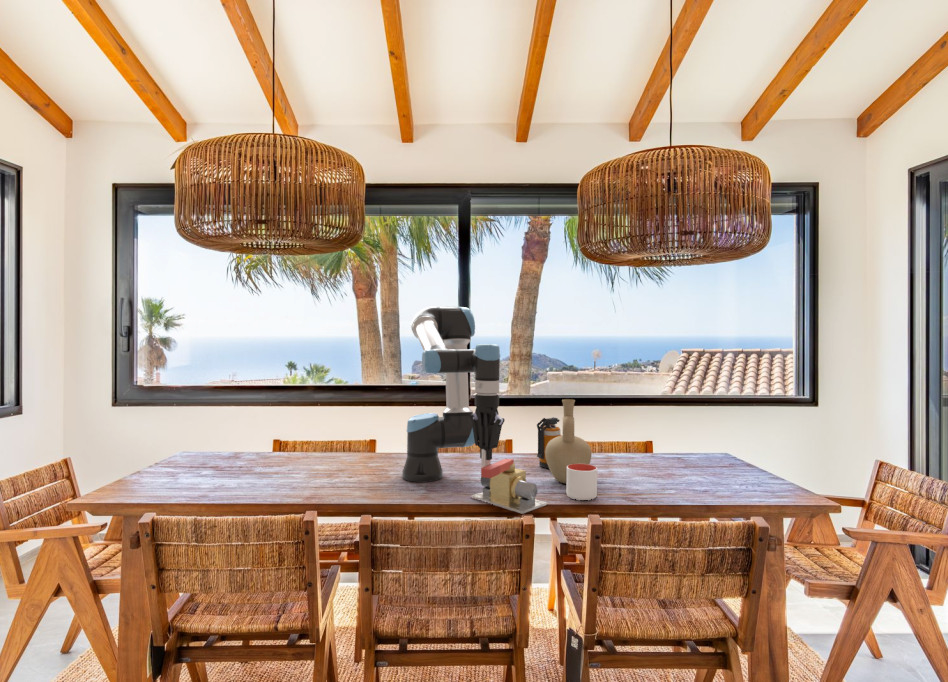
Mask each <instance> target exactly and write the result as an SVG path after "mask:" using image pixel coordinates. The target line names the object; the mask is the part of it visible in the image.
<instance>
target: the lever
mask: <svg viewBox="0 0 948 682" xmlns="http://www.w3.org/2000/svg"><path fill="white" fill-rule="evenodd" d="M514 461H515V460H514V459H513V458H503V459H502V460H499V461H496V462H494V463H490V465H488V466H485V467H483V468H481V467H480V478H481V477H485V478H492V477H494V476H496V475H499V474H500V473H501V472H504V471H505V472H513V471H515V468H516V463H514Z"/></svg>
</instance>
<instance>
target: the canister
mask: <svg viewBox="0 0 948 682" xmlns="http://www.w3.org/2000/svg"><path fill="white" fill-rule="evenodd" d="M560 421H561V420H560V419H558V417H554V416H553V417H549V418H545V417H543V418H542V419H541V420H540V421H539V422H538V423H537V424H536V427H537V454H536V457H537V458H539V459H538V460H539V463H538V465H539V466H540V467H542V468H544V469H549V467H548V464H547V461H546V457H545V449H546V446H547V444H548V443H549V441H551V440H552V439H553V438H555V437H558V436H563V434H561V428H560V426H556V425H557V424H558V423H560Z"/></svg>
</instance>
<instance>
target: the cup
mask: <svg viewBox="0 0 948 682" xmlns="http://www.w3.org/2000/svg"><path fill="white" fill-rule="evenodd" d="M565 484H566V487H565V488H566V491H565V492H566V496H567V497H568V498H569V499H572V500H575V499H576V500H575V501H580V500H588V501H592V500H595V499H596V497H597V495H598V467H597V466H595V465H592V464H570V465H568V466H567V480H566V483H565ZM591 499H592V500H591Z"/></svg>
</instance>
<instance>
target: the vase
mask: <svg viewBox="0 0 948 682" xmlns="http://www.w3.org/2000/svg"><path fill="white" fill-rule="evenodd" d="M575 402H576V400H575V399H573V398H571V399H570V398H564V399H562V400H561V403H562V407H563V417H562V436H558V437H555V438H553V439H552V440H551V441H549V443H548V444H547V446H546V449H545V457H546V461H547V464H548V467H549V468H548V469H549V471H550V473H551V474H552V476H553V478H554V480H555V481H558V483H561V484H566V480H567V466H568V465H570V464H589V465H591V464H590V463H591V460H592V449H591V446H590V445H589V443H588V442H587V441H586V440H585V439H583V438H581V437H578V436H575V418H574V408H575Z"/></svg>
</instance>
